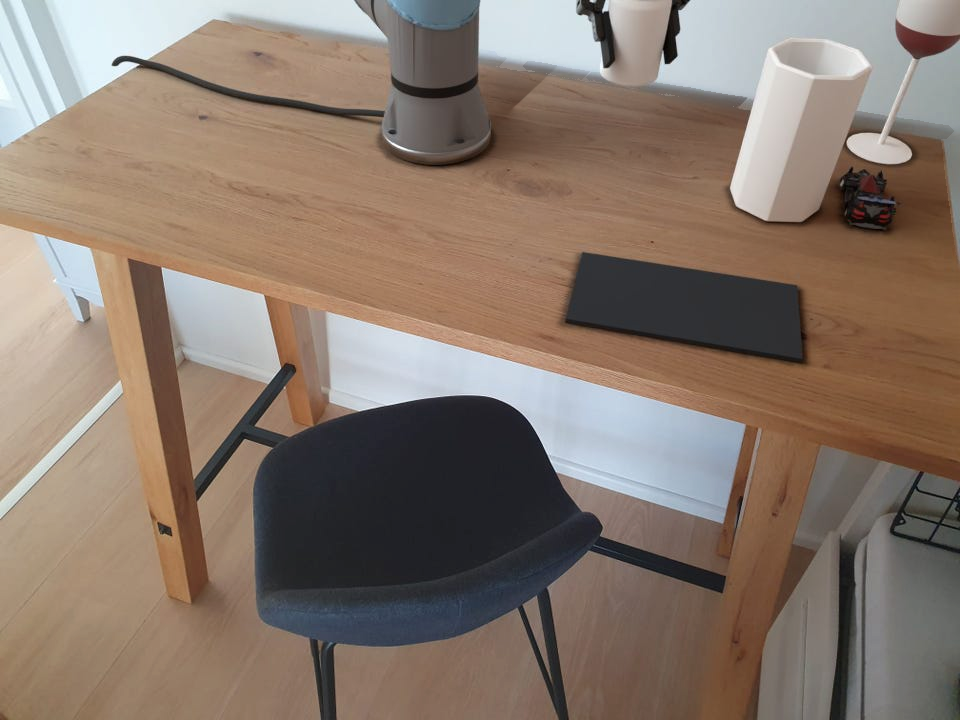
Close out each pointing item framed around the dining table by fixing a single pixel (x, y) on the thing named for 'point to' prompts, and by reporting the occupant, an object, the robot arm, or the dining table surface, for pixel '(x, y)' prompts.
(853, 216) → the toy car
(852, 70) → the cup
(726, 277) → the place mat
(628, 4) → the beverage can
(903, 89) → the wineglass
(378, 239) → the dining table surface
